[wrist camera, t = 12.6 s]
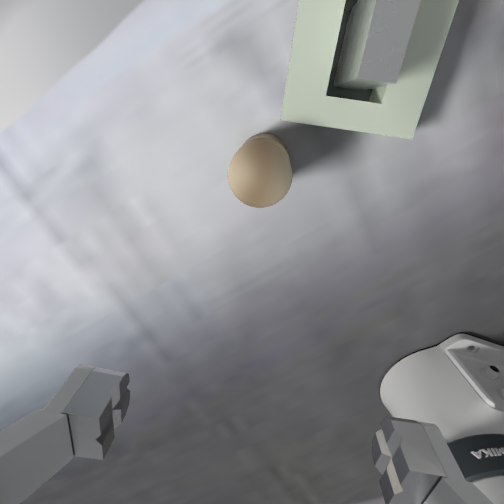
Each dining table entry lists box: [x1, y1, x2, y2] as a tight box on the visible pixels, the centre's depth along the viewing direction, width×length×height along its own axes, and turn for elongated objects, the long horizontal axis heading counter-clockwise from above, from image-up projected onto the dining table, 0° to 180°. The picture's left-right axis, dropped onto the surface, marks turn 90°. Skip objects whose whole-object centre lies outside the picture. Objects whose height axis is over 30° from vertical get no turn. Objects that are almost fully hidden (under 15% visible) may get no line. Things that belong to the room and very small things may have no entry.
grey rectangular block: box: [334, 0, 421, 90], centre depth 22 cm, size 2×6×9 cm, turn 172°
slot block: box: [280, 0, 459, 139], centre depth 25 cm, size 11×12×4 cm
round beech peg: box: [228, 133, 292, 208], centre depth 27 cm, size 5×5×8 cm
